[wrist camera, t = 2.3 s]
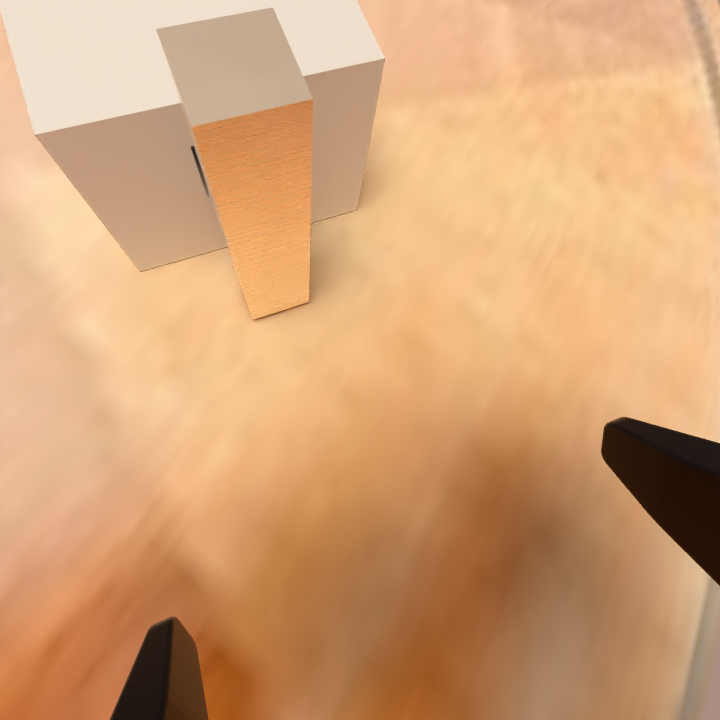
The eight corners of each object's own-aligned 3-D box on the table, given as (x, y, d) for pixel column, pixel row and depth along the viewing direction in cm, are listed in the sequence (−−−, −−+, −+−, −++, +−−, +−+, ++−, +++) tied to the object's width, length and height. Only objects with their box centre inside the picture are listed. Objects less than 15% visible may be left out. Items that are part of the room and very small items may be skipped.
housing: (357, 209, 26) (385, 58, 17) (139, 271, 24) (34, 134, 14) (319, 124, 27) (326, -61, 18) (109, 174, 25) (-5, -9, 16)
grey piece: (309, 301, 24) (312, 98, 11) (252, 319, 23) (191, 126, 11) (220, 74, 27) (146, -281, 14) (168, 85, 26) (45, -275, 14)
